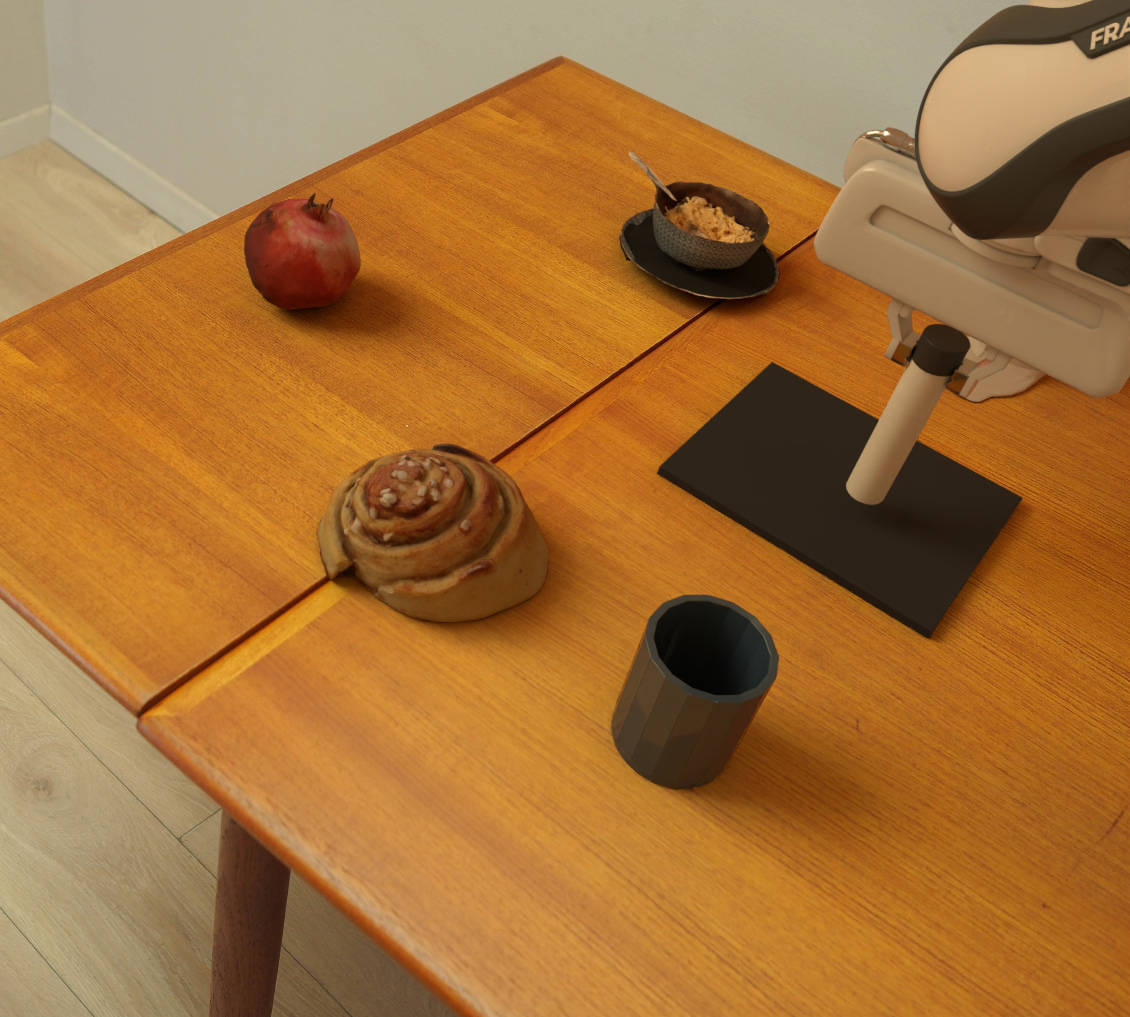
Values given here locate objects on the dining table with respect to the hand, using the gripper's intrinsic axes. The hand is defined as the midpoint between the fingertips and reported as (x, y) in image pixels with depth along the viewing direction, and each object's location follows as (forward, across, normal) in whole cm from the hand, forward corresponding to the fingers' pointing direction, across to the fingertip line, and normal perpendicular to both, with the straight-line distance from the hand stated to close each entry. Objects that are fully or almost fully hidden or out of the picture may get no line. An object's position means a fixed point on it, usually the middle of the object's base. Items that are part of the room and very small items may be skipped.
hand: (928, 374), depth 76 cm
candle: (+14, +1, +27) cm, 30 cm away
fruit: (+14, -46, -11) cm, 49 cm away
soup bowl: (+14, -26, +20) cm, 36 cm away
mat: (+14, -2, +2) cm, 14 cm away
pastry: (+14, -20, -25) cm, 35 cm away
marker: (+11, 0, 0) cm, 11 cm away
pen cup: (+14, 0, -26) cm, 29 cm away
